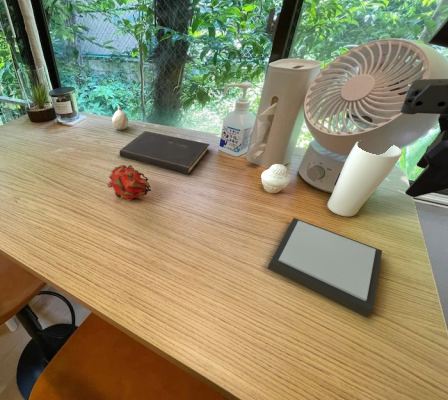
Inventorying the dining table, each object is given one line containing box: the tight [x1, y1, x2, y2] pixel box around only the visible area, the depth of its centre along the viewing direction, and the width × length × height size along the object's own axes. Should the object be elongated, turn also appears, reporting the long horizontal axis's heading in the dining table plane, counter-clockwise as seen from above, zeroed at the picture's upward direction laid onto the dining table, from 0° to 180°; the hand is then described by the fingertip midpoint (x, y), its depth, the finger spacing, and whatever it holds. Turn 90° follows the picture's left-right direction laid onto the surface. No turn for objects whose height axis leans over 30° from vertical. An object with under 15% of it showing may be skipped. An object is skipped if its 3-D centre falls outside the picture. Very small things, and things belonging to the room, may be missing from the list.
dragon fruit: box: [106, 164, 152, 202], centre depth 63 cm, size 8×8×12 cm
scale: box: [266, 217, 383, 318], centre depth 45 cm, size 14×14×2 cm
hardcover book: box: [119, 130, 210, 176], centre depth 79 cm, size 16×23×2 cm
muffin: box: [260, 163, 291, 194], centre depth 60 cm, size 6×6×7 cm
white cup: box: [326, 141, 403, 217], centre depth 51 cm, size 7×7×15 cm
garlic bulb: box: [111, 105, 129, 131], centre depth 95 cm, size 7×6×8 cm
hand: (414, 180), depth 38 cm, fingers open, 9 cm apart
